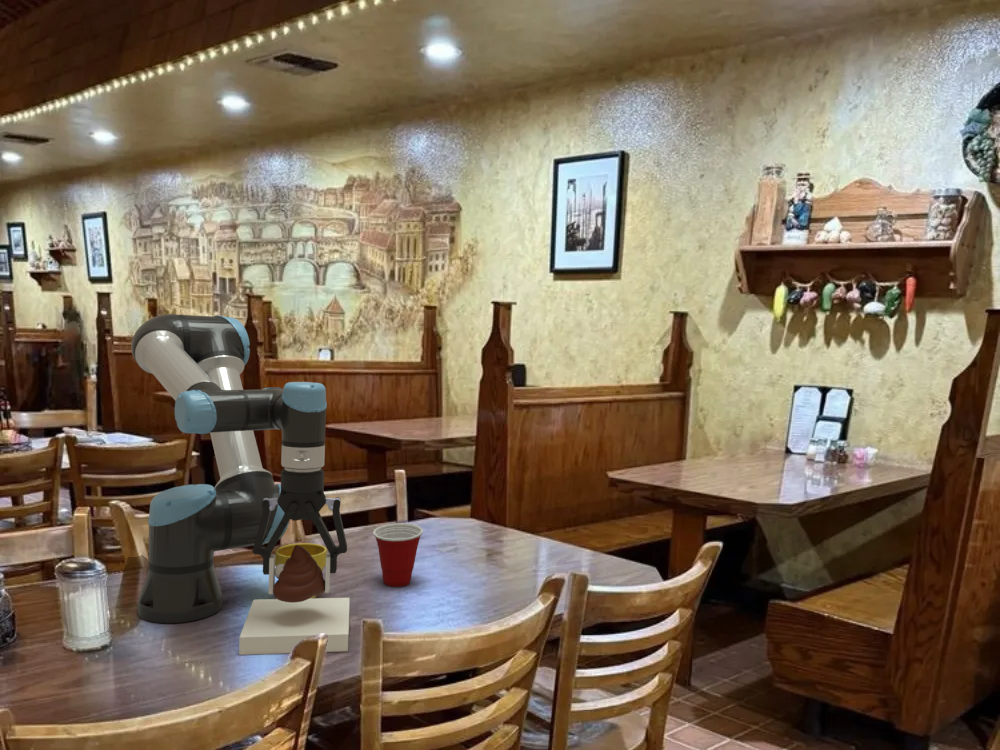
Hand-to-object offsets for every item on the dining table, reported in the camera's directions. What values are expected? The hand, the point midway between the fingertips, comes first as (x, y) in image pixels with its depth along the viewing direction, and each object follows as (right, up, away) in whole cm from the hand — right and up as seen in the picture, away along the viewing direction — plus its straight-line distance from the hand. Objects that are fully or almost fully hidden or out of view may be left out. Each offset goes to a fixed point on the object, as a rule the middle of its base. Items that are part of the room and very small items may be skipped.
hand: (299, 591), depth 140 cm
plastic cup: (+14, -7, +30) cm, 33 cm away
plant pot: (-5, -7, +19) cm, 21 cm away
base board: (0, -8, +1) cm, 8 cm away
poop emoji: (0, -1, 0) cm, 1 cm away
